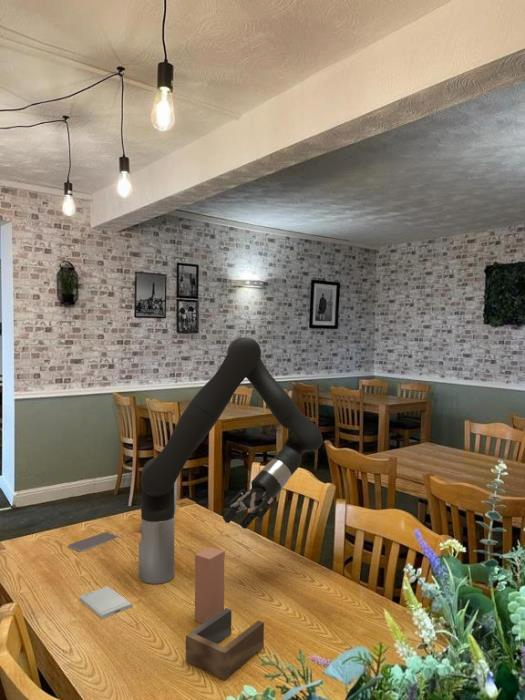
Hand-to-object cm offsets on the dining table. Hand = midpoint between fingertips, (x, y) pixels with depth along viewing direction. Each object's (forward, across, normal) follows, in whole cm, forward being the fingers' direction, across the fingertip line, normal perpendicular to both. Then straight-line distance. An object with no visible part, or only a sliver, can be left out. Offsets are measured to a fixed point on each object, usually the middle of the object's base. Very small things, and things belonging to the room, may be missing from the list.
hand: (233, 523), depth 136 cm
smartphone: (+23, -57, -2) cm, 62 cm away
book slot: (+24, +18, +9) cm, 31 cm away
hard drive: (+34, -17, -3) cm, 38 cm away
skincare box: (+2, -61, +12) cm, 63 cm away
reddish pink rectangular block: (+20, +4, +10) cm, 23 cm away
